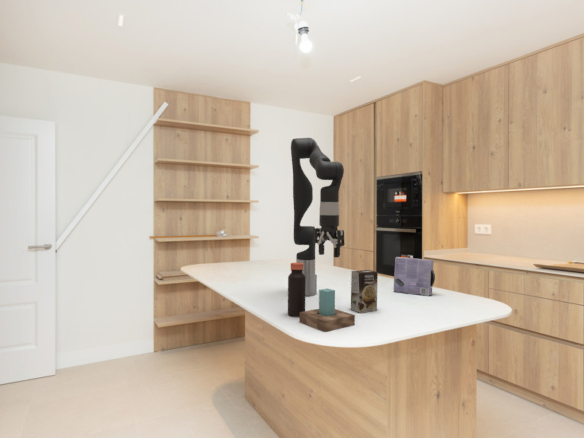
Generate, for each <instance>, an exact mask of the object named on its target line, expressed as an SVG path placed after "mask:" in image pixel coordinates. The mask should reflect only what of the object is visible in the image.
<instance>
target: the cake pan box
mask: <svg viewBox="0 0 584 438" xmlns="http://www.w3.org/2000/svg"><path fill="white" fill-rule="evenodd" d="M394 257H395V256H394ZM394 259H395V260H394V274H393V292H396V293H401V292H403V293H404V294H408V293H412V294H411V295H417V294H422V295H421V296H425V295H431V294H432V295H433V286H434V284H435V280H436V274H435V271H434V259H426V258H425V259H424V258H423V259H422V258H416V257H415V258H412V257H402V256H401V257H400V256H396V257H395V258H394ZM432 295H431V296H432Z"/></svg>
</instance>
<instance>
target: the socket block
mask: <svg viewBox="0 0 584 438" xmlns="http://www.w3.org/2000/svg"><path fill="white" fill-rule="evenodd" d="M355 316H356V315H355V314H353V313H349V312H346V311H344V310H339V309H336V308H335V315H331V316H327V317H326V316H323V315H320V314H319V308H315V309H310V310H305V311H304V312H299V317H298V318H299V323H301V324H304V325H305V326H306V325H307V326H309V327H312V328H314V329H317V330H320V331H322V332H324V333H326V332H330V331H334V330H339V329H342V328H347V327H351V326H354V325H355V323H356V322H355V320H356V319H355V318H356V317H355Z"/></svg>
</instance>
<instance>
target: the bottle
mask: <svg viewBox="0 0 584 438" xmlns="http://www.w3.org/2000/svg"><path fill="white" fill-rule="evenodd" d="M302 271H303V263H296V262H290V272H291V273H289V275H288V277H287V279H288V280H287V315H288V316H290V317H293V318H294V317H297V318H299V312H304V311H306V296H305V278H306V277H305V275H304V274H303V273H302Z"/></svg>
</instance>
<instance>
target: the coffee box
mask: <svg viewBox="0 0 584 438" xmlns="http://www.w3.org/2000/svg"><path fill="white" fill-rule="evenodd" d="M378 276H379V275H378V271H375V270H370V269H364V270H363V269H362V270H352V271H351V275H350V277H351V281H350V283H351V284H350V285H351V286H350V310H351V311H354V312H357V313H358V312H359V314H361V313H362V312H363V313H369V311H370V312H374V311H375V312H376V310H377V311H378ZM363 313H362V314H363Z"/></svg>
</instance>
